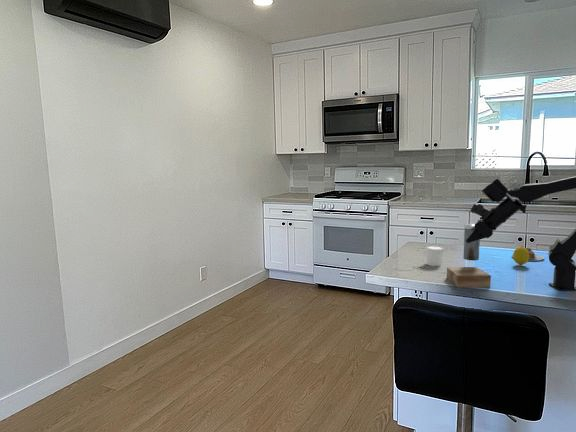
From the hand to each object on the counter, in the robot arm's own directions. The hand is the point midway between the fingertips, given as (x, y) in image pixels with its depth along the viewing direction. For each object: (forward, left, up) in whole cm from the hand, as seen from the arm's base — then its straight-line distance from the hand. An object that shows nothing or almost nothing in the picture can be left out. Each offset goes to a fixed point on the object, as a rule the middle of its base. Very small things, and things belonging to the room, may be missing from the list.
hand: (467, 240), depth 154 cm
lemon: (+14, -27, -14) cm, 33 cm away
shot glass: (+18, +6, -14) cm, 23 cm away
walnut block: (-7, +2, -14) cm, 16 cm away
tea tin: (-1, -1, -7) cm, 7 cm away
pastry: (+26, -36, -14) cm, 46 cm away
